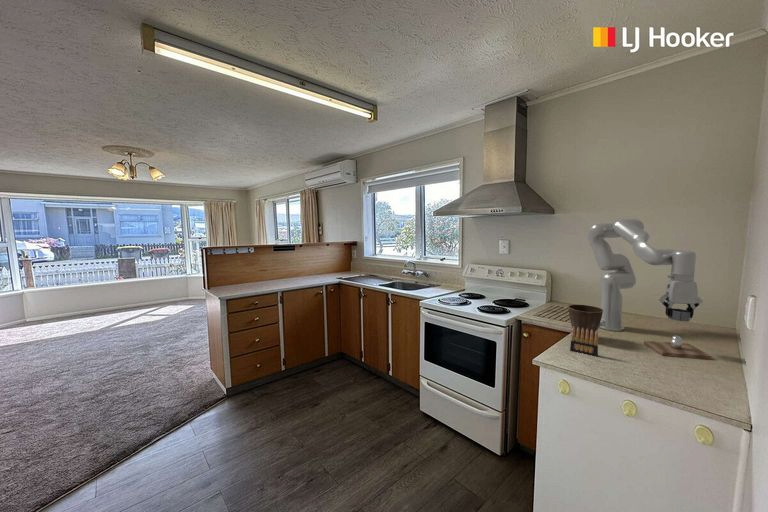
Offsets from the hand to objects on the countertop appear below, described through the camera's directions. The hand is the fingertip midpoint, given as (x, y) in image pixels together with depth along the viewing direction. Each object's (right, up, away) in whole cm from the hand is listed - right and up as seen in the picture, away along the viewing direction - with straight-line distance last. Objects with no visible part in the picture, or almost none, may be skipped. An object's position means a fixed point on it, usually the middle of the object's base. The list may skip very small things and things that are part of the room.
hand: (679, 316), depth 139 cm
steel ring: (0, -1, 0) cm, 1 cm away
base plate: (0, -16, +2) cm, 17 cm away
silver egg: (0, -15, +2) cm, 15 cm away
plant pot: (-31, -15, +19) cm, 40 cm away
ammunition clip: (-43, -17, +1) cm, 46 cm away
